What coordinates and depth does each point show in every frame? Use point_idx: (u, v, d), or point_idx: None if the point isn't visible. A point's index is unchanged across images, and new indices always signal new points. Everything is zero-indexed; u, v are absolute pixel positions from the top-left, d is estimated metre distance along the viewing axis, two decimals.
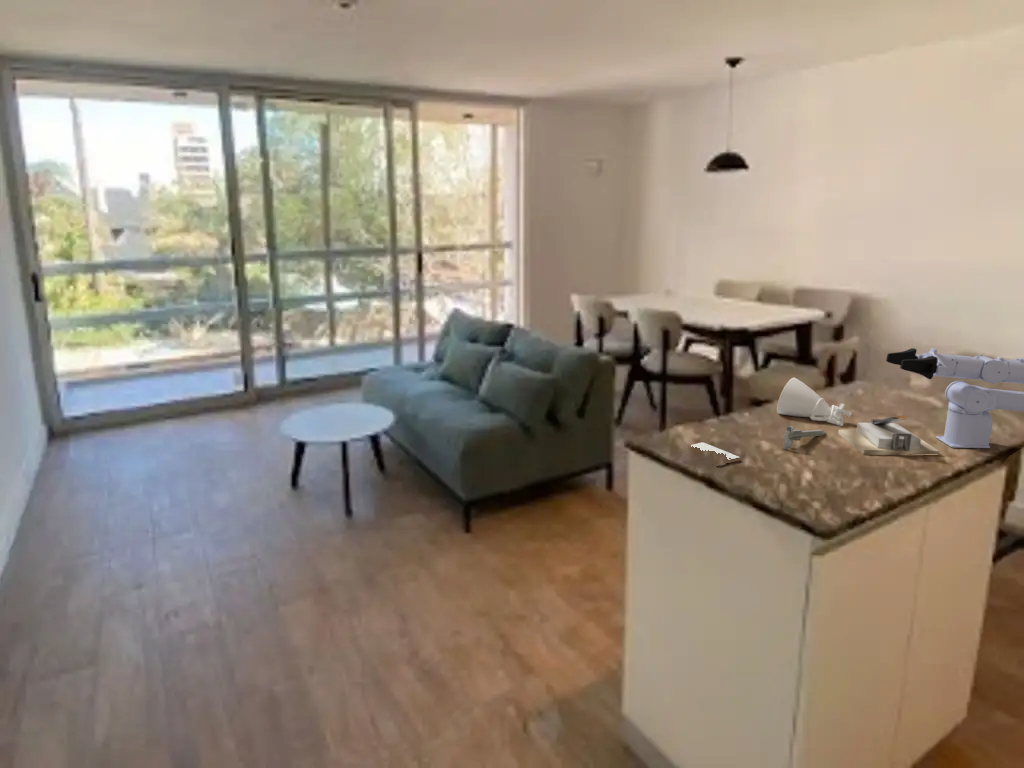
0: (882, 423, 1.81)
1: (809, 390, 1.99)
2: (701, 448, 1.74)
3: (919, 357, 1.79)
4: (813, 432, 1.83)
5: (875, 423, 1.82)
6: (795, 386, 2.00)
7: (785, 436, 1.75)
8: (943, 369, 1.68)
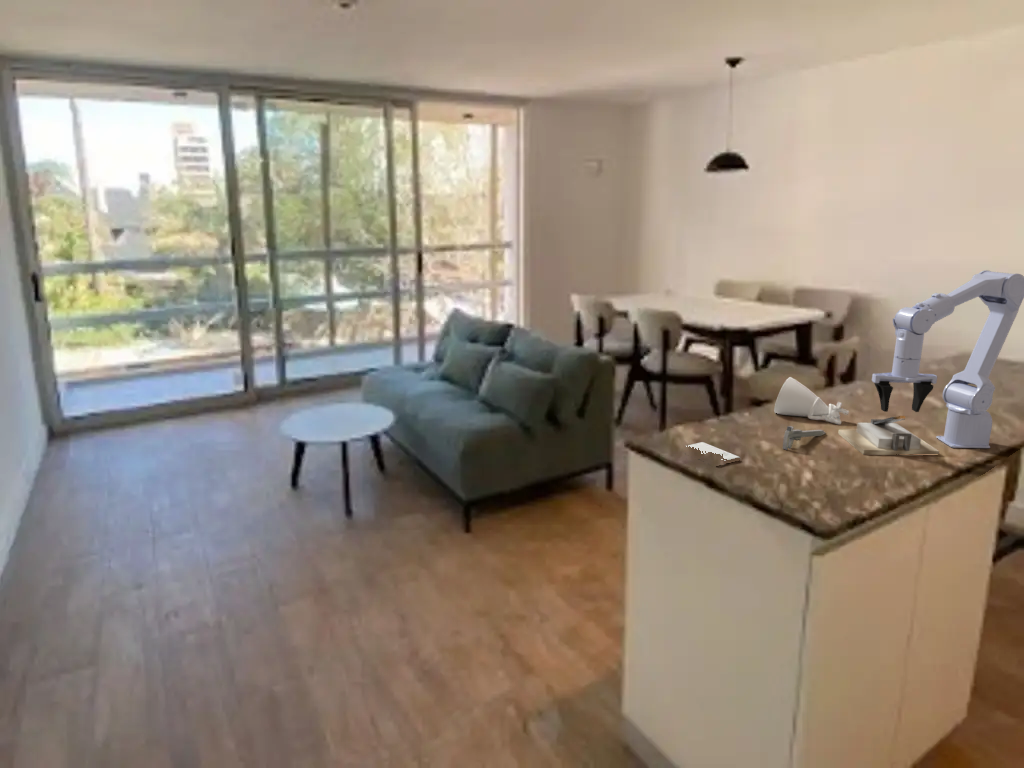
0: (882, 423, 1.81)
1: (806, 389, 2.00)
2: (701, 448, 1.74)
3: None
4: (813, 432, 1.83)
5: (875, 423, 1.82)
6: (792, 386, 2.00)
7: (785, 436, 1.75)
8: None
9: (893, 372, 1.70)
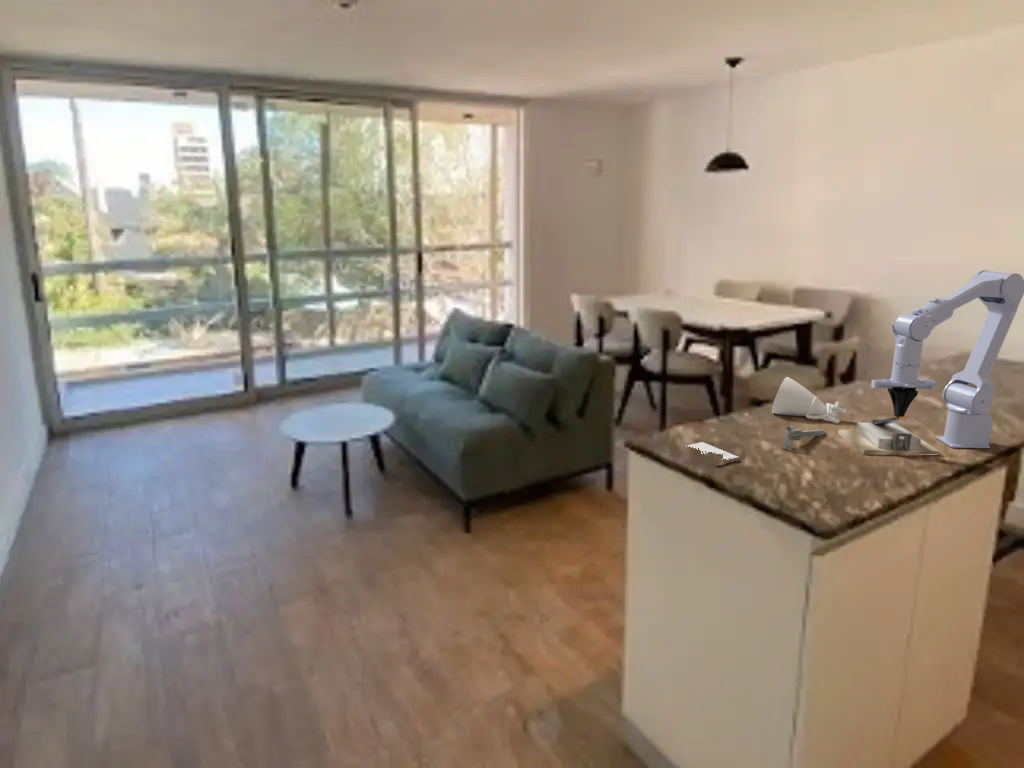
0: (882, 423, 1.81)
1: (804, 389, 2.00)
2: (700, 448, 1.74)
3: None
4: (813, 432, 1.83)
5: (875, 423, 1.82)
6: (790, 386, 2.00)
7: (785, 436, 1.75)
8: None
9: (892, 378, 1.70)
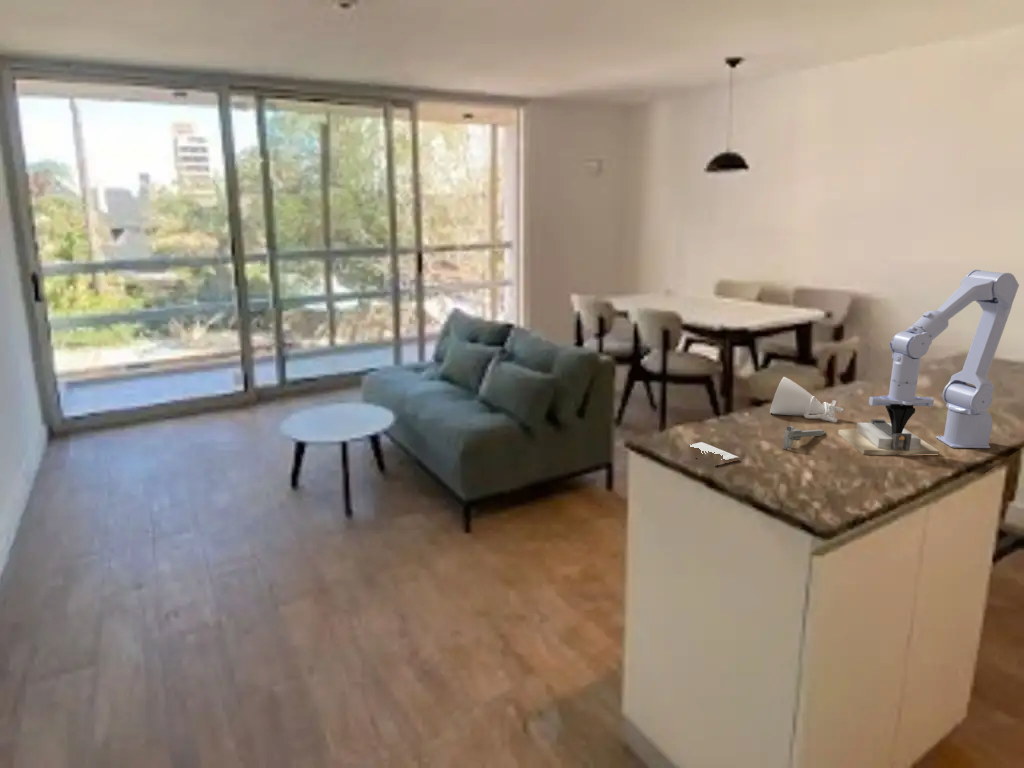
0: None
1: (801, 388, 2.01)
2: (700, 448, 1.75)
3: None
4: (813, 432, 1.83)
5: (875, 425, 1.82)
6: (788, 385, 2.01)
7: (785, 436, 1.75)
8: None
9: (890, 395, 1.71)
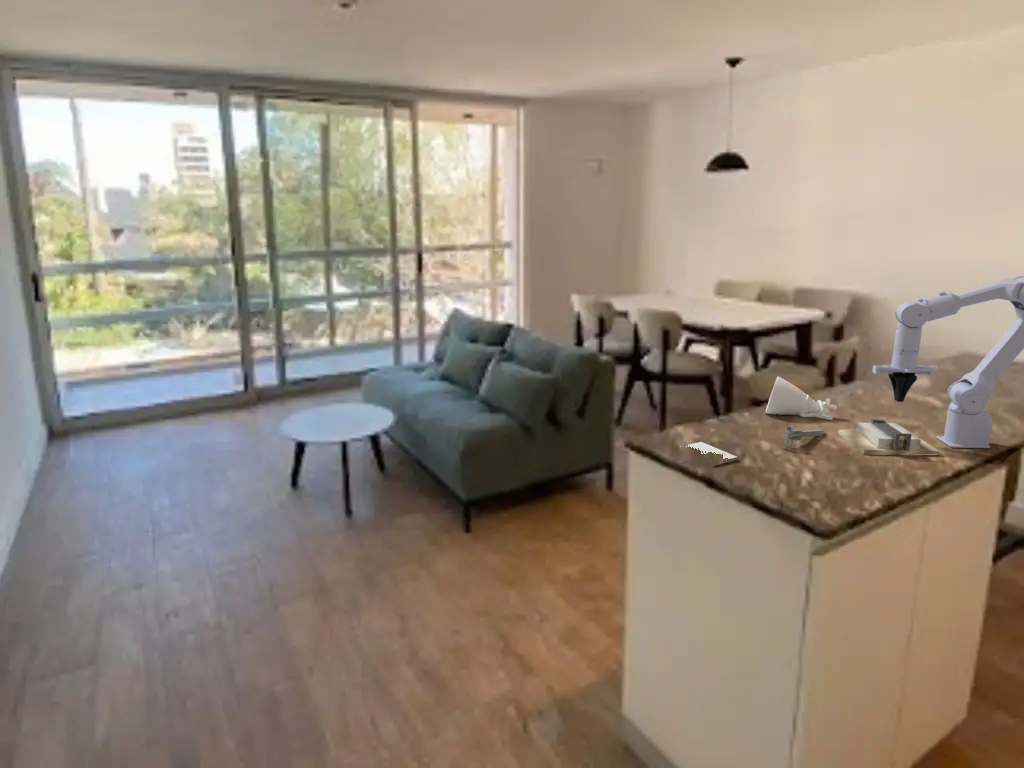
0: None
1: (796, 388, 2.02)
2: (699, 448, 1.75)
3: (885, 369, 1.78)
4: (813, 432, 1.83)
5: (875, 425, 1.82)
6: (784, 385, 2.01)
7: (785, 436, 1.75)
8: None
9: (893, 364, 1.78)
